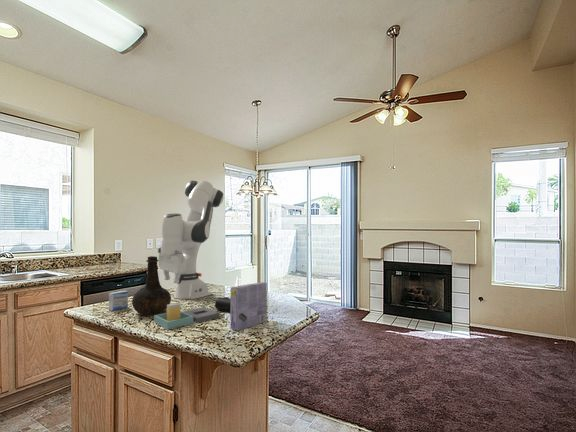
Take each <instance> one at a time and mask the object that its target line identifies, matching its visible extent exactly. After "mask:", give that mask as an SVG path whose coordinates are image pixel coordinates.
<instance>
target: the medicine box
mask: <svg viewBox="0 0 576 432" xmlns="http://www.w3.org/2000/svg"><path fill="white" fill-rule="evenodd" d="M128 307H129V292H128V290H120V291H113V292H109V293H108V311H109V310H110V311H112V312H114V311H117V310H118V311H119V310H122V309H127V308H128Z"/></svg>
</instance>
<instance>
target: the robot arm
mask: <svg viewBox="0 0 576 432" xmlns="http://www.w3.org/2000/svg"><path fill="white" fill-rule="evenodd" d="M184 194H185V196H186V197H187V204H188V206H189V209H188V212H187V215H186V217H185V218H184V219H185V220H184V219H183V215H182V214H181V213H167V214H165V215H164V216H163V219H162V223H161V224H162V226H161V235H162V241H161V245H160V246H159V247H158V249H157V254H158V260H159V261H158V267H159V269H160V270H163V275H164V280H165V281H170V279H171V275H170V273H173V274H174V278H173V283H174V284H175V285H176V286H175V291H174V292H175V293H174V296H173V298H175V299H177V300H178V299H180V300H186V299H187V300H188V299H190V300H195V299H198V298H199V299H200V298H202V297H203V298H204V297H207V296H211V295H213V292H212V291H211V290H209V285H208V284H207V283H206V282H205V281H203V280H202V279H201V278H199V277H202V276H203V274H202V273H200V272H197V257H198V253H199V249H200V246H201V245H202V244H203V243H204V242H205V241H207V240H208V238H209V237H210V232H211V231H210V230H211V224H212V218H213V212H214V208H218V207H220V206H221V204H222V203H223V201H224V195H225V194H224V193H223V191H221V190H220V189H217V188H215V187H214V185H212V183H210V182H209V181H207V180H201V181H198V180H190V181H188V182H187V184H186V185H185V187H184ZM169 272H170V273H169Z"/></svg>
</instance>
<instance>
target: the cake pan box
mask: <svg viewBox="0 0 576 432" xmlns="http://www.w3.org/2000/svg"><path fill="white" fill-rule="evenodd" d="M267 285H268V283H267V282H264V281H260V282H255V283H248V284H243V285H236V286H231V287H230V299H231V312H230V330H234V331H236V332H239V331H242V330H245V329H247V328H251V327H254V326H257V325H259V324H263V323H265V322H266V323H267V321H268V314H267V313H268V305H267V304H268V301H267V300H268V299H267V298H268V295H267V293H268V290H267V289H268V288H267V287H268V286H267Z"/></svg>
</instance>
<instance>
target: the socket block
mask: <svg viewBox="0 0 576 432" xmlns="http://www.w3.org/2000/svg"><path fill="white" fill-rule="evenodd" d="M182 312H184V313H186V314H189V315H191V316H193V323H195V324H197V323H201V322H205V321H210V320H214V319H218V318H220V312H218V311H216V310H214V309H210V308H207V307H205V306H204V307H198V308H193V309H188V310H185V311H182Z"/></svg>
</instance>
